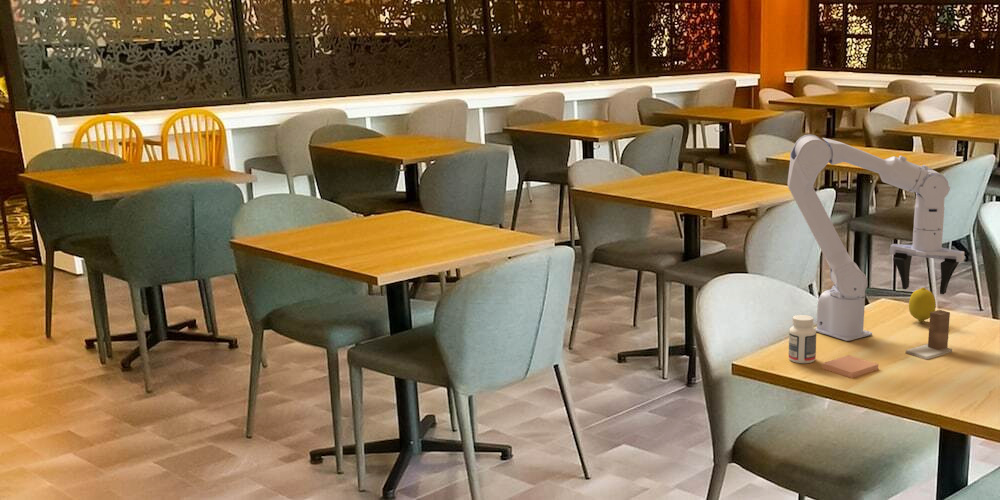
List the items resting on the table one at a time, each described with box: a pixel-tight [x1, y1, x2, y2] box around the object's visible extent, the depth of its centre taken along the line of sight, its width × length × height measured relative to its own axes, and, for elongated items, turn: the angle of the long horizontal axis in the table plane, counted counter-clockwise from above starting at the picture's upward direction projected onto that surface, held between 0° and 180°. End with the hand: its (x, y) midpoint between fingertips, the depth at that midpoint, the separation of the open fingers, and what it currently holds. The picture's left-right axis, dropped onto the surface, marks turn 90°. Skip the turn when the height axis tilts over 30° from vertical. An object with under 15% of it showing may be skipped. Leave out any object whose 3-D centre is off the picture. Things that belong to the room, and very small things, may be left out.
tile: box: [821, 354, 880, 379], centre depth 202 cm, size 7×2×8 cm
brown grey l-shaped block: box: [905, 309, 953, 360], centre depth 209 cm, size 5×8×8 cm, turn 122°
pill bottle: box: [788, 314, 817, 364], centre depth 207 cm, size 5×5×9 cm
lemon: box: [908, 287, 937, 323], centre depth 229 cm, size 6×6×8 cm
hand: (924, 290), depth 219 cm, fingers open, 7 cm apart
